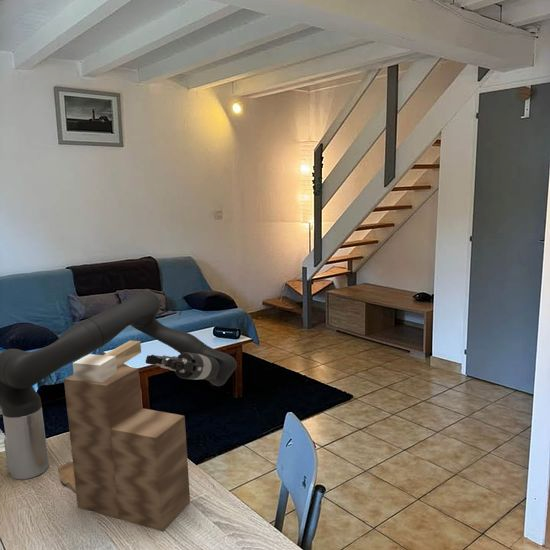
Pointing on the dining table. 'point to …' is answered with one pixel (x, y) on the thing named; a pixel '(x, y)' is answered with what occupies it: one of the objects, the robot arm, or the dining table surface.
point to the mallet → (104, 363)
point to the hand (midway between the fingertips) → (159, 362)
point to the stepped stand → (126, 452)
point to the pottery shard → (67, 475)
